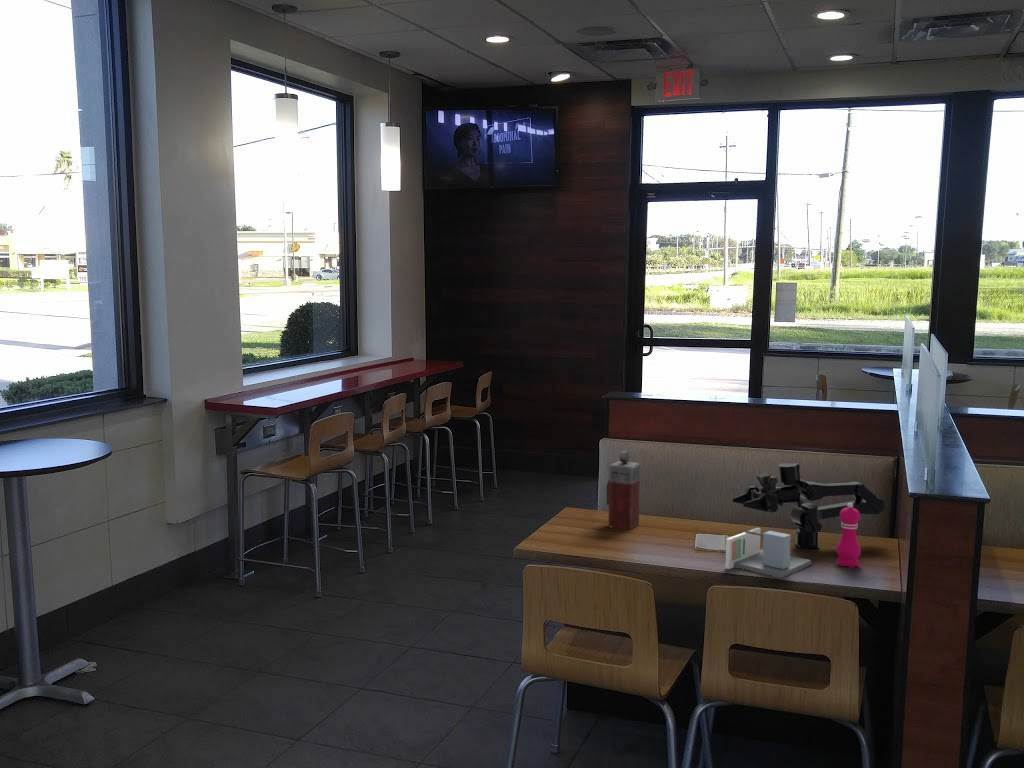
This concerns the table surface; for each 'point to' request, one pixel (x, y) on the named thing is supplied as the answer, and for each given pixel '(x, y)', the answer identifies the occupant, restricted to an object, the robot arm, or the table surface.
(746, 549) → the gauge stand
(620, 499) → the red square canister
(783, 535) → the gauge carriage
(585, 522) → the table surface
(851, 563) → the pepper mill
